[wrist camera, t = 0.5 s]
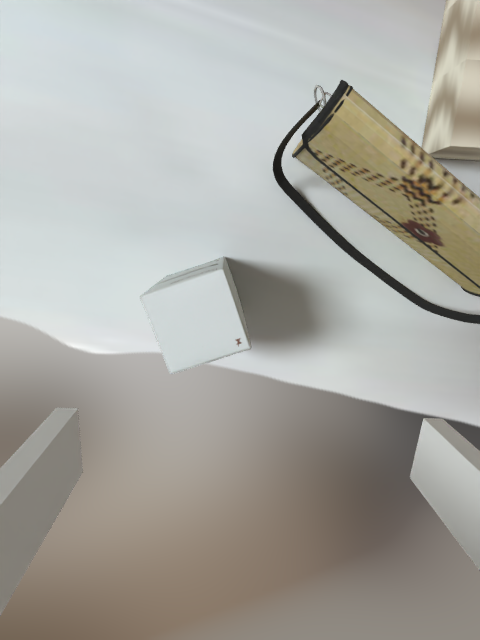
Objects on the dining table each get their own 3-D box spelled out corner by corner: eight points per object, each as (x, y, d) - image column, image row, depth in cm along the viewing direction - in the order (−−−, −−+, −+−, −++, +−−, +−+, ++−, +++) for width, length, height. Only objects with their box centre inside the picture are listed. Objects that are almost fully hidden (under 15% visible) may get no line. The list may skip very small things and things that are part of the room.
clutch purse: (252, 184, 36) (271, 154, 22) (289, 125, 35) (337, 52, 20) (446, 328, 42) (565, 380, 27) (485, 282, 40) (631, 311, 26)
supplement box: (225, 254, 38) (226, 266, 26) (244, 314, 40) (254, 351, 28) (164, 274, 38) (136, 295, 26) (186, 333, 40) (170, 377, 28)
